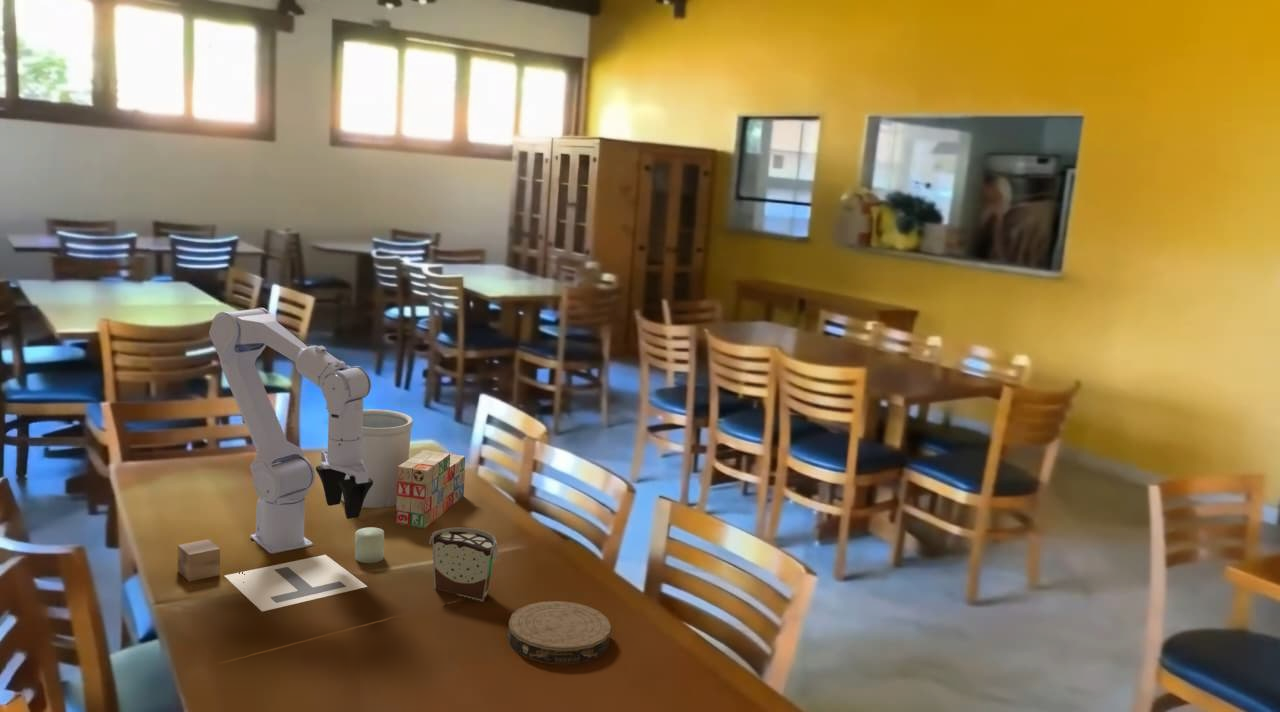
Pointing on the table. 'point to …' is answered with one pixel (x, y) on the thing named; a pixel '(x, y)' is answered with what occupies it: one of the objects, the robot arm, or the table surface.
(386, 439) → the utensil holder
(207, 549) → the wooden cube
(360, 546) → the sage cylinder
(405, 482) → the stack of blocks
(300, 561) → the board
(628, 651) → the table surface
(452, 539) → the food container
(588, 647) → the beige round flat disc
